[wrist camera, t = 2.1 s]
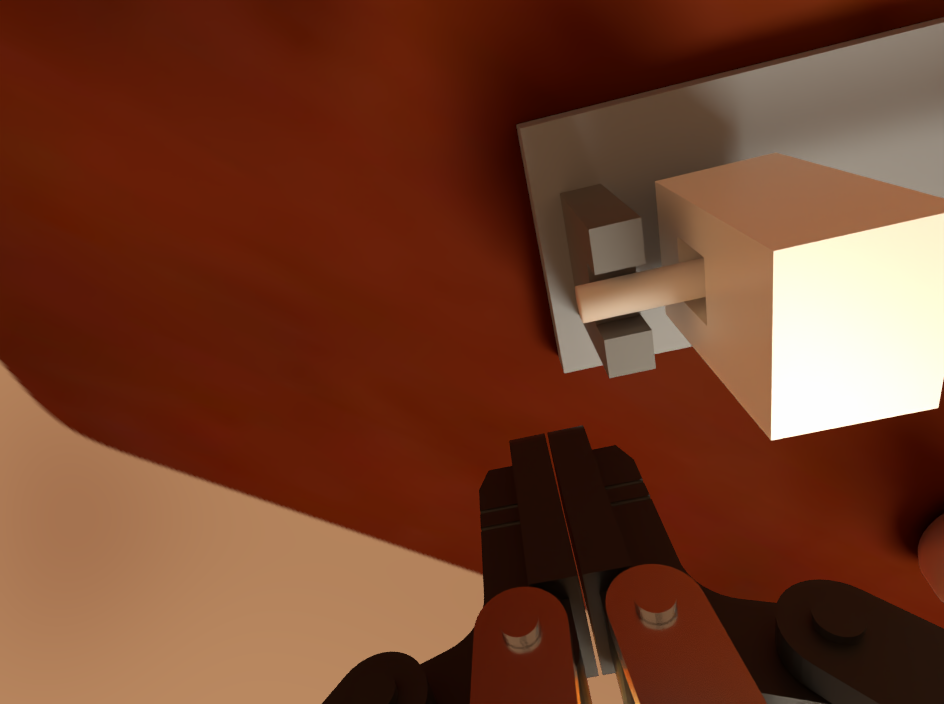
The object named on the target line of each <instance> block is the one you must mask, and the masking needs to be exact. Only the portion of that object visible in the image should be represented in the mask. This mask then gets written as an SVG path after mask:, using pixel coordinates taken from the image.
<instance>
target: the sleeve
mask: <svg viewBox="0 0 944 704" xmlns="http://www.w3.org/2000/svg"><path fill="white" fill-rule="evenodd" d="M655 189H656V201H657V214H658V226H659V238H660V250H661V263H662V267H663V266H668V265H672V264H676V263H681V262H685V261H690V260H694V259H699V258H703V257H704V268H705V290H706V297H702V298H698V299H693V300H689V301H684V302H680V303H675V304H670V305H666V306H665V311H666V315H667V316H668V318H669V319H670V320H671V321H672V322H673V324H674V325H675V326H676V327H677V328H678V330H679V331H680V332H681V333H682V334H683V336H684V337H685V338H686V339H687V340H688V342H689V343H690V344H691V345H692V346H693V348H694V349H695V350H696V351H697V352H698V354H699V355H700V356H701V357H702V358H703V360H704V361H705V362H706V363H707V364H708V366H709V367H710V368H711V369H712V370H713V372H714V373H715V374H716V375H717V376H718V378H719V379H720V380H721V381H722V382H723V384H724V385H725V386H726V387H727V388H728V390H729V391H730V392H731V393H732V394H733V395H734V397H735V398H736V399H737V400H738V401H739V403H740V404H741V405H742V406H743V407H744V409H745V410H746V411H747V412H748V413H749V415H750V416H751V417H752V418H753V419H754V421H755V422H756V423H757V424H758V425H759V427H760V428H761V429H762V430H763V431H764V433H765V434H766V435H767V436H768V437H769V439H770V440H776V439H781V438H786V437H792V436H797V435H802V434H807V433H812V432H817V431H822V430H827V429H833V428H838V427H843V426H848V425H853V424H858V423H863V422H869V421H874V420H879V419H884V418H889V417H894V416H899V415H904V414H910V413H915V412H920V411H925V410H930V409H935V408H938V407H939V401H940V396H941V390H942V384H943V378H944V198H941V197H937V196H933V195H930V194H926V193H922V192H919V191H915V190H911V189H908V188H904V187H900V186H897V185H893V184H889V183H886V182H882V181H878V180H875V179H871V178H867V177H864V176H860V175H856V174H853V173H849V172H845V171H842V170H838V169H834V168H831V167H827V166H823V165H820V164H816V163H812V162H809V161H805V160H801V159H798V158H794V157H791V156H787V155H783V154H780V153H772V154H768V155H763V156H759V157H755V158H751V159H747V160H742V161H738V162H734V163H730V164H726V165H721V166H717V167H713V168H709V169H704V170H700V171H696V172H692V173H688V174H683V175H679V176H675V177H671V178H667V179H662V180H658V181H655Z"/></svg>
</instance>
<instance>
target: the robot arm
mask: <svg viewBox="0 0 944 704" xmlns="http://www.w3.org/2000/svg"><path fill="white" fill-rule="evenodd" d="M548 438H549V443H550V448H551V453H552V458H553V462H554V467H555V472H556V477H557V481H558V486H559V491H560V496H561V500H562V505H563V509H564V514H565V518H566V522H567V527H568V531H569V535H570V539H571V543H572V548H573V552H574V556H575V560H576V564H577V569H578V573H579V577H580V581H581V585H582V590H583V594H584V598H585V602H586V607H587V611H588V615H589V619H590V623H591V627H592V632H593V636H594V640H595V644H596V649H597V653H598V657H599V661H600V665H601V669H602V674H603V675H606V674H612V673H616V676H617V680H618V684H619V688H620V692H621V695H622V699H623V703H624V704H944V629H943V628H941V627H939V626H937V625H935V624H932V623H930V622H928V621H926V620H924V619H922V618H920V617H918V616H916V615H913V614H911V613H909V612H907V611H905V610H903V609H901V608H899V607H897V606H894V605H892V604H890V603H888V602H886V601H884V600H882V599H880V598H878V597H875V596H873V595H871V594H869V593H867V592H865V591H863V590H861V589H858V588H856V587H853V586H851V585H848V584H844V583H841V582H836V581H830V580H808V581H804V582H800V583H797V584H795V585H793V586H791V587H790V588H788V589H787V590H786V591H785V592H784V593H783V594H782V595H781V596H780V598H779V600H778V602H777V603H771V602H762V601H753V600H744V599H737V598H731V597H727V596H724V595H720V594H718V593H716V592H713V591H711V590H709V589H707V588H705V587H704V586H702V585H700V584H699V583H698V582H696V581H695V580H694V579H693V578H692V577H691V576H690V575H689V574H688V573H687V572H686V571H685V570H684V568H683V567H682V565H681V563H680V561H679V559H678V557H677V555H676V553H675V550H674V548H673V546H672V544H671V541H670V539H669V537H668V535H667V533H666V530H665V528H664V526H663V524H662V521H661V519H660V517H659V515H658V513H657V510H656V508H655V506H654V504H653V501H652V499H650V495H649V493H648V490H647V488H646V486H645V484H644V483H643V480H642V477H641V475H640V473H639V470H638V468H637V466H636V464H635V462H634V460H633V459H632V458H631V457H630V456H628V455H627V454H626V453H625V452H623V451H622V450H621V449H620V448H618V447H617V446H616V445H614V446H609V447H604V448H599V449H594V450H592V449H591V446H590V443H589V441H588V438H587V435H586V432H585V429H584V427H583V426H578V427H573V428H568V429H563V430H558V431H553V432H548ZM509 442H510V450H511V458H512V465H513V466H510V467H505V468H500V469H495V470H490V471H488V473H487V475H486V477H485V479H484V481H483V483H482V486H481V488H480V490H479V496H480V512H481V515H480V518H481V530H482V532H481V539H482V561H483V582H484V605H483V609H482V610H481V611H480V613H479V616H478V617H477V620H476V623H475V627H474V628H473V630H472V631H471V632H470V633H469V634H468V635H467V636H466V637H465V638H464V640H462V641H461V642H460V643H458V644H457V645H456V646H455V647H452V648H451V649H449V650H447V651H445V652H443V653H442V654H440V655H438V656H436V657H434V658H432V659H430V660H428V661H426V662H424V663H422V664H419V663H418V662H417V661H416V660H415V659H414V658H412V657H411V656H409V655H407V654H404V653H400V652H384V653H380V654H376V655H374V656H372V657H369V658H367V659H366V660H364V661H362V662H361V663H359V664H358V665H357V666H355V667H354V668H353V669H352V670H351V671H350V672H349V673H348V674H347V675H346V676H345V677H344V678H343V680H342V681H341V682H340V683H339V684H338V685H337V687H336V688H335V689H334V690H333V691H332V692H331V694H330V695H329V696H328V697H327V698H326V699H325V701H324V702H323V703H322V704H592V700H591V696H590V691H589V686H588V681H587V678H589V677H595V676H598V670H597V666H596V661H595V656H594V651H593V646H592V641H591V637H590V632H589V627H588V623H587V618H586V613H585V608H584V603H583V598H582V594H581V589H580V584H579V579H578V575H577V570H576V566H575V562H574V558H573V553H572V549H571V545H570V541H569V536H568V532H567V528H566V524H565V519H564V515H563V511H562V506H561V502H560V498H559V494H558V489H557V485H556V481H555V477H554V472H553V468H552V464H551V460H550V455H549V451H548V447H547V443H546V438H545V434H539V435H534V436H529V437H525V438H520V439H515V440H510V441H509Z"/></svg>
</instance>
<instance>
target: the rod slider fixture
mask: <svg viewBox="0 0 944 704" xmlns="http://www.w3.org/2000/svg"><path fill="white" fill-rule="evenodd" d="M516 127H517V132H518V138H519V143H520V149H521V154H522V159H523V165H524V170H525V176H526V181H527V187H528V192H529V198H530V203H531V208H532V214H533V219H534V225H535V230H536V236H537V241H538V247H539V252H540V257H541V263H542V268H543V274H544V279H545V285H546V290H547V295H548V301H549V306H550V312H551V317H552V323H553V328H554V334H555V339H556V344H557V350H558V355H559V359H560V362H561V365H562V368H563V371H564V373H568V372H573V371H577V370H582V369H587V368H591V367H596V366H601V365H603V366H604V368H605V370H606V372H607V374H608V376H609V378H612V377H617V376H622V375H627V374H631V373H636V372H641V371H646V370H651V369H655V368H656V366H655V356H654V354H658V353H662V352H667V351H672V350H677V349H681V348H686V347H691V346H692V345H691V344H690V343H689V342H688V340H687V339H686V338H685V337H684V336H683V334H682V333H681V332H680V331H679V330H678V328H677V327H676V326H675V325H674V324H673V322H672V321H671V320H670V319H669V318H668V316H667V315H666V311H665V306H666V305H670V304H675V303H680V302H684V301H689V300H693V299H698V298H702V297H706V290H705V268H704V257H703V258H699V259H694V260H690V261H685V262H681V263H676V264H672V265H668V266H663V267H662V263H661V250H660V238H659V226H658V214H657V201H656V189H655V181H658V180H662V179H667V178H671V177H675V176H679V175H683V174H688V173H692V172H696V171H700V170H704V169H709V168H713V167H717V166H721V165H726V164H730V163H734V162H738V161H742V160H747V159H751V158H755V157H759V156H763V155H768V154H772V153H780V154H783V155H787V156H791V157H794V158H798V159H801V160H805V161H809V162H812V163H816V164H820V165H823V166H827V167H831V168H834V169H838V170H842V171H845V172H849V173H853V174H856V175H860V176H864V177H867V178H871V179H875V180H878V181H882V182H886V183H889V184H893V185H897V186H900V187H904V188H908V189H911V190H915V191H919V192H922V193H926V194H930V195H933V196H937V197H941V198H944V17H942V18H938V19H934V20H930V21H926V22H922V23H918V24H914V25H910V26H906V27H902V28H898V29H894V30H890V31H886V32H882V33H878V34H874V35H870V36H866V37H862V38H858V39H854V40H850V41H847V42H843V43H839V44H835V45H831V46H827V47H823V48H819V49H815V50H811V51H807V52H803V53H799V54H795V55H791V56H787V57H783V58H779V59H775V60H771V61H767V62H763V63H759V64H755V65H751V66H747V67H743V68H739V69H735V70H731V71H727V72H723V73H719V74H715V75H711V76H707V77H703V78H699V79H695V80H691V81H687V82H684V83H680V84H676V85H672V86H668V87H664V88H660V89H656V90H652V91H648V92H644V93H640V94H636V95H632V96H628V97H624V98H620V99H616V100H612V101H608V102H604V103H600V104H596V105H592V106H588V107H584V108H580V109H576V110H572V111H568V112H564V113H560V114H556V115H552V116H548V117H544V118H540V119H536V120H532V121H528V122H524V123H521V124H517V125H516Z"/></svg>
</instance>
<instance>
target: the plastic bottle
mask: <svg viewBox="0 0 944 704" xmlns="http://www.w3.org/2000/svg"><path fill="white" fill-rule="evenodd" d="M918 561H919V567H920V570H921V573H922V574H923V576H924V577H925V579H926V580H927V582H928V583H929V585H930V586H931V588H932V589H933V591H934V592H935V594H936V595H937V596H938V598H939V599H940V600H941V601H942V602H943V603H944V513H943V514H942V515H940V516H939V517H938V518H936V519H935V520H934V521H933V522H932V523H931V524H930V525H929V526H928V527H927V529H926V530H925V531H924V532H923V534H922V536H921V538H920V540H919V544H918Z"/></svg>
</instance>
